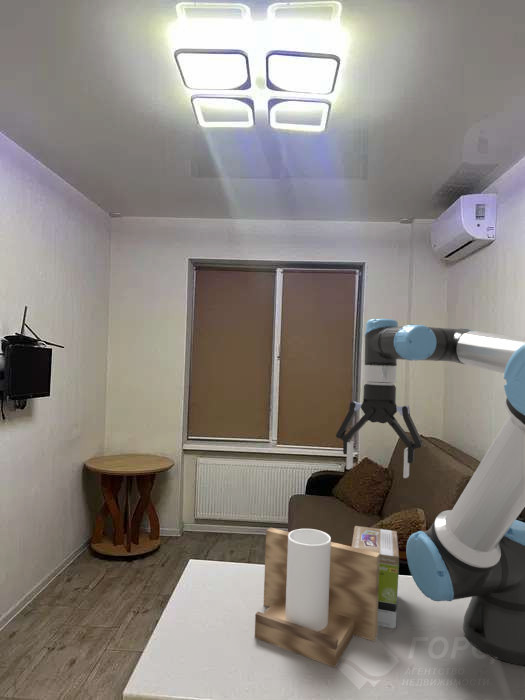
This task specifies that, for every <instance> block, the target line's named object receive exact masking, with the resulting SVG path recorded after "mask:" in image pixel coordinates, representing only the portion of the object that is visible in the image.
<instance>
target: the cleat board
mask: <svg viewBox="0 0 525 700" xmlns="http://www.w3.org/2000/svg"><path fill="white" fill-rule="evenodd" d="M290 532H291V531H287V530H286V531H285V530H282V529H278V528H273V527H269V528H268V529H266V530H265V548H264V549H265V553H264V555H265V557H264V576H263V577H264V581H263V582H264V583H263V588H264V589H263V606H265V607H268V608H267V609H266V610H265V611H264V612H261V611H257V612H256V613H255V617H254V618H255V619H254V620H255V621H254V638H255V639H257V640H259V641H262V642H265V643H268V644H271V645H274V646H277V647H279V648H282V649H283V650H286V651H289V652H291V653H295V654H297V655H301V656H303V657H306V658H308V659H310V660H314V661H315V662H319V663H322V664H325V665H328V666H329V667H333V668H336V666H337V665H338V663H339V662H340V659H341V658H342V656H343V654H344V653H345V651H346V649H347V648H348V646H349V644H350V642H351V641H352V639H353V637H354V636H356V637H359V638H362V639H366V640H367V641H368V640H369V641H371V640H372V642H375V641H376V639H377V637H378V626H377V624H378V592H379V561H380V553H376V552H372V551H368V550H364V549H359V548H355V547H352V545H351V546H350V545H345V544H342V543H338V542H333V541H331V550H330V579H329V608H328V625H327V626H326V627H325V628H324V629H323V630H321V631H314V630H312V629H309V628H306V627H303V626H300V625H297V624H294V623H291V622H288V621H286V620H285V611H286V583H287V555H288V535H289V533H290Z"/></svg>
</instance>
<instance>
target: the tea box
mask: <svg viewBox="0 0 525 700" xmlns="http://www.w3.org/2000/svg"><path fill="white" fill-rule="evenodd" d="M351 541H352V542H351V547H355V548H359V549H364V550H368V551H372V552H376V553H380V561H379V592H378V624H377V627H383V628H388V629H396V626H397V614H398V613H397V612H398V611H397V609H398V589H399V572H400V571H399V570H400V569H399V568H400V555H399V554H400V552H399V543H398V542H399V541H398V532H397V531H396V530H389V529H381V528H376V527H375V528H374V527H367V526H359V525H355V526H354V528H353V536H352V540H351Z"/></svg>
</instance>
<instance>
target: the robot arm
mask: <svg viewBox="0 0 525 700" xmlns="http://www.w3.org/2000/svg"><path fill="white" fill-rule="evenodd" d="M398 360H402V361H405V360H406V361H431V362H433V361H434V362H439V361H440V362H451V363H457V364H461V365H467V366H471V367H474V368H475V367H476V368H480V369H484V370H488V371H492V372H497V373H501V374H503V379H504V380H505V381H506V383H505V384H503V388H504V389H503V390H504V393H505V396H506V399H505V402H504V403H505V408H506V410H507V412H508V414H509V415H508V417H507V419H506V420H505V422H504V424H503V425H502V426H501V429H500V430H499V431H498V433H497V435H496V436H495V438H494V440H493V442H492V443H491V445H490V447H489V448H488V449H487V452H486V453H485V455H484V457H483V458H482V460H481V461H480V463H479V464H478V466H477V468H476V469H475V471H474V473H473V475H472V476H471V477H470V479H469V481H468V483H467V485H466V486H465V488H464V489H463V491H462V492H461V494H460V496H459V498H458V499H457V501H456V502H455V505H454V506H453V508H452V509H449V510H443V511H441V512H440V513H439V514H437V516H436V518H435V519H434V521H433V523H432V524H431V526H430V528H429V529H428V530H425V531H422V530H418V531H417V532H413V533H411V535H410V536H409V537H408V539H407V542H406V546H405V547H406V549H405V551H406V553H405V554H406V559H407V565H408V569H409V572H410V575H411V578H412V580H413V581H414V583H415V585H416V586H417V589H419V591H420V592H421V593H422V594H423V595H424V596H425V597H426V598H427V599H430V600H431V601H433V602H452V601H454V600H460V599H466V598H471V599H470V601H469V603H468V606H467V608H466V610H465V613H464V616H463V627H462V629H463V633H464V636H465V637H466V639H467V640H468V641H469V642H470V643H471V644H472V645H473V646H474V647H476V648H477V649H479V650H480V651H481V652H483V653H485V654H486V655H489V656H490V657H493V658H495V659H497V660H500V661H502V662H507V663H510V664H515V665H518V666H519V665H520V666H525V522H523V521H521V520H518V517H519V516H520V515H521V513H522V511H523V510H524V508H525V337H522V336H515V335H507V334H498V333H491V332H483V331H476V330H473V329H472V330H471V329H469V328H449V327H448V328H447V327H445V328H444V327H431V326H427V325H424V324H414V323H413V324H407V325H399V324H398V321H397V320H396V319H390V318H372V319H368V321H367V322H366V325H365V334H364V367H363V368H364V373H363V381H364V382H365V383H364V385H363V395H362V396H363V397H362V398H363V400H362V403H361V402H358V401H356V400H355V401H354V400H353V401H352V402H350V403H349V409H348V412H347V414H346V416H345V417H344V419H343V421H342V423H341V425H340V427H339V428H338V431H337V433H335V437H336V438H337V439H340V440H341V441H342V442H343V443H342V444H343V446H342V447H343V448H342V452H343V455H346V463H345V464H346V465H345V466H346V468H345V469H346V470H351V469H352V468H353V467H354V466H353V465H354V440H352V438H353V437H354V436H355V435H356V434H357V433H359V431H360V430H361V428H363V427H364V425H366V423H367V422H371V423H378V424H387V423H388V424H389V426H390V427H391V428H392V429H393V431H395V433H396V434H397V435H398V437H399V438H400V440H401V441H402V442H403V443H404V445H405V446H406V448H404V449H403V476H402V477H403V479H408V478H409V476H410V464H413V463H414V461H415V450H416V449H420V448H421V447H422V446H423V445H424V443H423V440H422V437H421V436H420V434H419V432H418V429H417V428H416V425H415V422H414V421H413V418H412V416H411V413H410V412H411V411H410V406H409V405H407V404H406V405H404V406H398V405H397V403H396V402H397V401H396V399H397V398H396V397H397V395H396V394H397V386H396V385H395V383H396V382H397V368H398V367H397V365H398V362H397V361H398ZM360 409H361V410H362V412H363V414H364V415H363V416H362V417H360V418H359V420H358V422H356V424H355V425H354V426H353V427H352V428H351V429H350V430H349V431H348V428H349V426H350V425H351V423H352V421H353V419H354V417H355V416H356V414H357V412H358V411H360ZM397 412H398V413H399V414H400V416H402V418H403V421H404V423H405V425H406V427H407V429H408V432H409V434H410V436H411V438H412V439H411V438H410V436H409V435H408V434H407V433H406V431H405V430H404V428H403V427H402V426H401V425H400V423H399V422H398V420H397V419H396V417H395V414H396V413H397ZM347 431H348V432H347ZM346 432H347V433H346Z"/></svg>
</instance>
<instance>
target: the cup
mask: <svg viewBox="0 0 525 700" xmlns="http://www.w3.org/2000/svg"><path fill="white" fill-rule="evenodd" d="M289 532H290V533H289V535H288V555H287V583H286V611H285V620H286V621H288V622H291V623H294V624H297V625H300V626H303V627H306V628H309V629H312V630H314V631H321V630H323V629H324V628H325V627H326V626H327V625H328V608H329V579H330V550H331V542H332V541H331V540H332V539H331V538H332V537H331V536H330V534H328V533H327V532H325V531H322V530H319V529H315V528H314V529H313V528H299V529H294V530H291V531H289Z"/></svg>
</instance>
